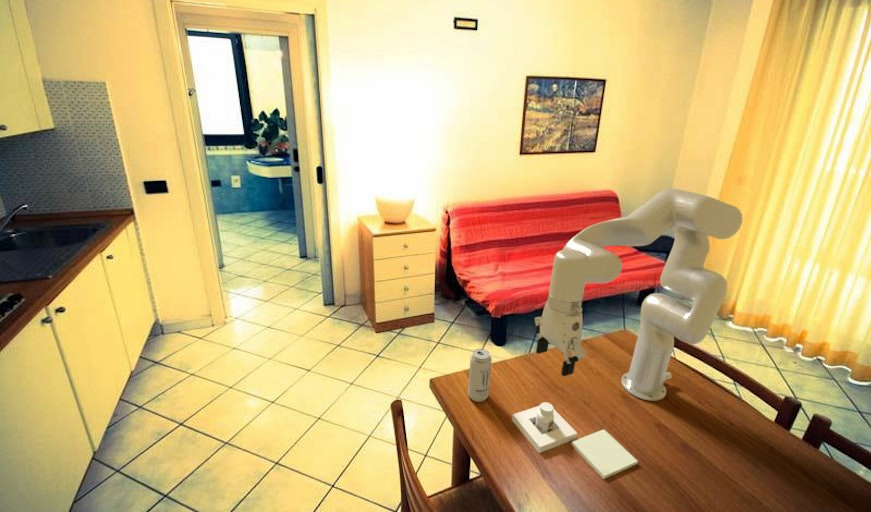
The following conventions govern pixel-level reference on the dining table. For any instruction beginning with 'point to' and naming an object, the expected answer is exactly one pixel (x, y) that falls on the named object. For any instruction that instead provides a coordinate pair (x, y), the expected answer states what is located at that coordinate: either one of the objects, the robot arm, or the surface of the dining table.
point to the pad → (604, 453)
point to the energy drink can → (479, 375)
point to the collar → (547, 440)
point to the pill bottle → (545, 418)
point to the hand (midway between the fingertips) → (553, 362)
